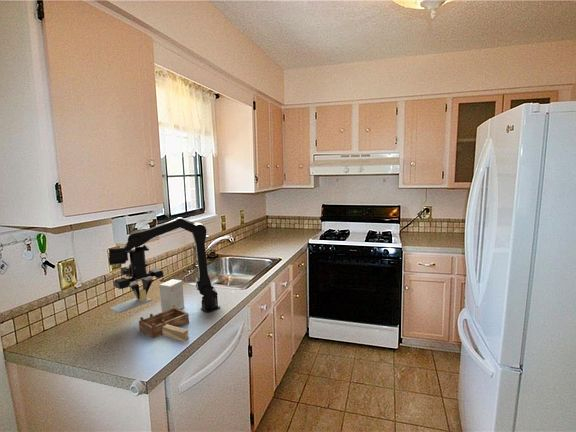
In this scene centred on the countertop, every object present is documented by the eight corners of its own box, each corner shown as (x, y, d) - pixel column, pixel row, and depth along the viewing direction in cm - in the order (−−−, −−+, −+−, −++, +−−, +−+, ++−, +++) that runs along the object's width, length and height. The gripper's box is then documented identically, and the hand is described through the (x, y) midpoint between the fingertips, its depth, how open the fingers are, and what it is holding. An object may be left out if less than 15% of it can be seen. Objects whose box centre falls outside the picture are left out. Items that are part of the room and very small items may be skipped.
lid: (143, 296, 142) (141, 286, 142) (151, 301, 138) (150, 289, 137) (110, 309, 132) (108, 297, 131) (118, 313, 127) (116, 301, 127)
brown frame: (175, 316, 143) (174, 304, 143) (189, 322, 137) (188, 310, 136) (139, 330, 131) (138, 318, 131) (152, 338, 125) (151, 325, 124)
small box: (174, 305, 155) (172, 278, 153) (184, 307, 153) (182, 280, 151) (161, 312, 148) (158, 284, 146) (172, 314, 145) (169, 286, 143)
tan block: (167, 332, 129) (166, 324, 129) (188, 338, 124) (188, 329, 124) (162, 335, 127) (162, 326, 127) (184, 341, 122) (183, 332, 122)
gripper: (149, 254, 148) (152, 287, 150) (105, 264, 134) (110, 300, 136) (162, 257, 141) (165, 292, 143) (118, 268, 127) (122, 307, 129)
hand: (141, 297), depth 138 cm, fingers closed on lid, 2 cm apart
